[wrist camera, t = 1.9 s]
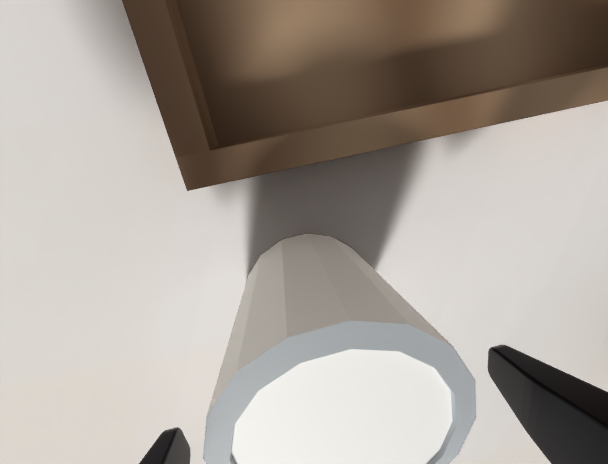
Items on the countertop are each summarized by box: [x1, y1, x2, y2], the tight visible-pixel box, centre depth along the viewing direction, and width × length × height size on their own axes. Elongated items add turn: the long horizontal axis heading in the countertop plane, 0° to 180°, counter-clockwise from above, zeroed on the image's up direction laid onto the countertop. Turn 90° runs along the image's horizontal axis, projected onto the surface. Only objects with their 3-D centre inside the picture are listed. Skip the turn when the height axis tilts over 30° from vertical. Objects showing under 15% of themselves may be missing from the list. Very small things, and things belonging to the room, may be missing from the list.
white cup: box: [203, 233, 476, 464], centre depth 11 cm, size 7×7×7 cm
